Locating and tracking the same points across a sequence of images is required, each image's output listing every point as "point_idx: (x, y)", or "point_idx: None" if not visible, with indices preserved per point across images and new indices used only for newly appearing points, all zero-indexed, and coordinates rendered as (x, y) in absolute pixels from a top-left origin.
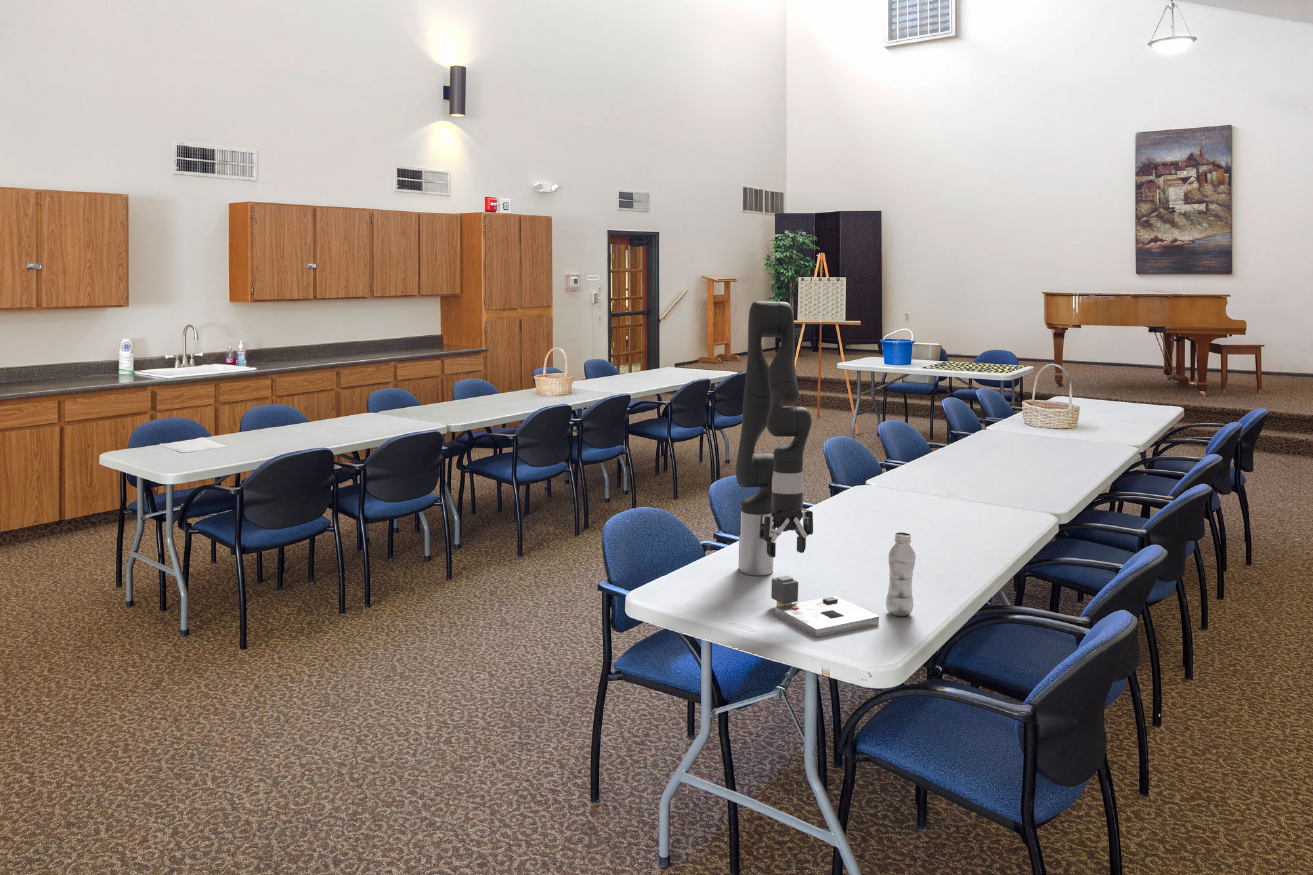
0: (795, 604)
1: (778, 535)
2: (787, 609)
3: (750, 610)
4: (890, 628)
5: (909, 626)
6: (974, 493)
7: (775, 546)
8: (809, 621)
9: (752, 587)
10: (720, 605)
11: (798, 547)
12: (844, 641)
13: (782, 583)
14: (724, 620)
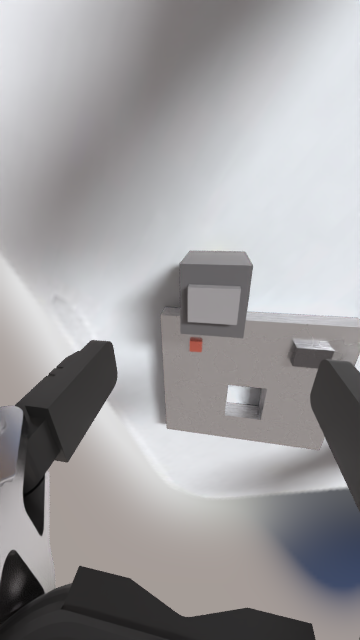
0: None
1: (46, 549)
2: (177, 339)
3: (125, 252)
4: (313, 451)
5: None
6: None
7: (82, 435)
8: (177, 403)
9: (253, 10)
10: (65, 175)
11: (332, 391)
12: (200, 441)
13: (183, 325)
14: (48, 278)
